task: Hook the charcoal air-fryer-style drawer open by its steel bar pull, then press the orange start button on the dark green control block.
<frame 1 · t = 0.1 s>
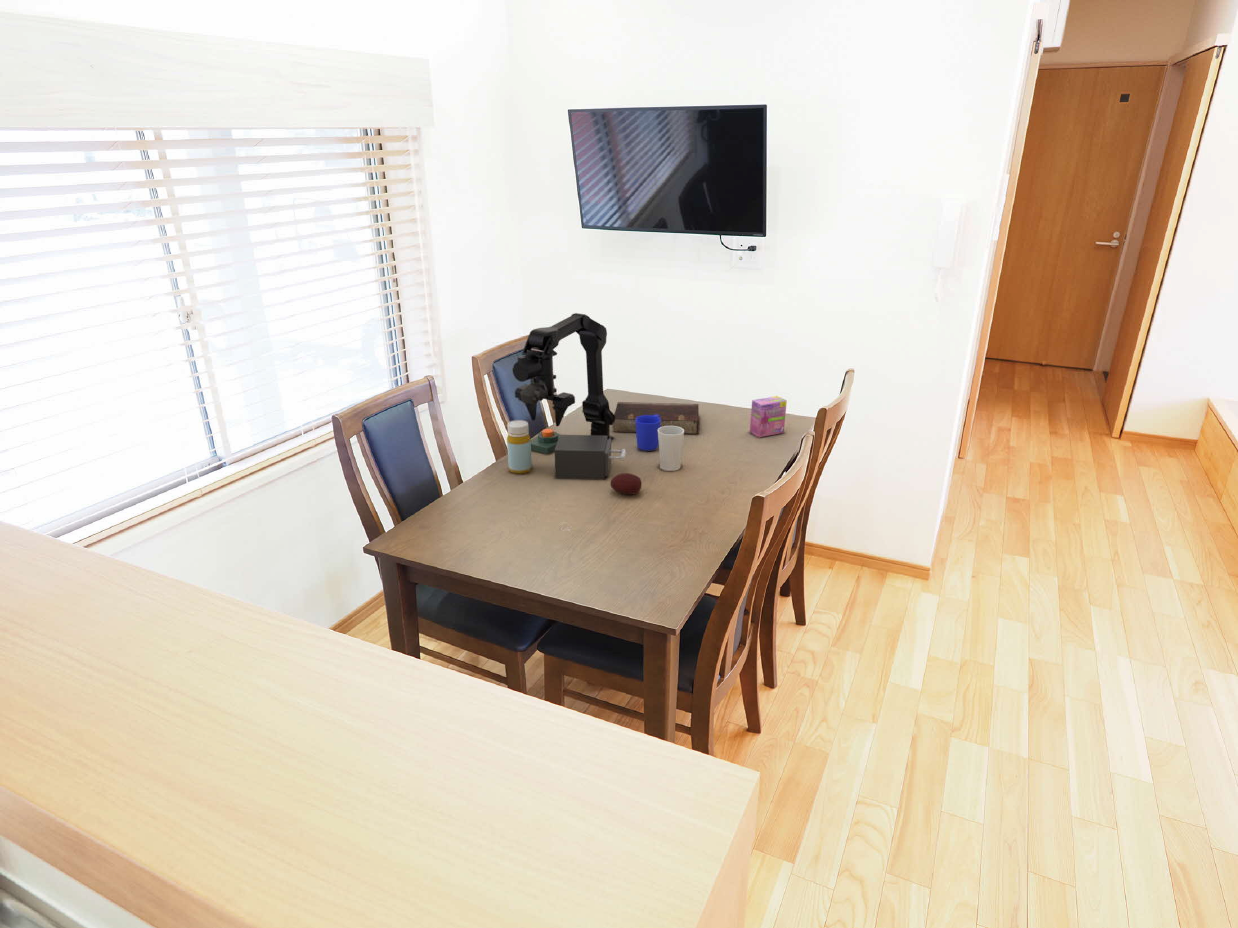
hand: (545, 423, 235), 15 cm above the table, tool pointing down, fingers open, 9 cm apart
control block: (548, 445, 257), on the table
fryer: (582, 470, 239), on the table
book: (656, 424, 276), on the table
start button: (548, 433, 256), point 4 cm above the table, slide at 0.1 cm
box: (766, 433, 267), on the table
cup: (670, 467, 241), on the table
bottle: (520, 470, 240), on the table
potato: (626, 493, 224), on the table
mug: (650, 446, 257), on the table
basket: (595, 456, 237), point 5 cm above the table, slide at 0.0 cm, touching fryer
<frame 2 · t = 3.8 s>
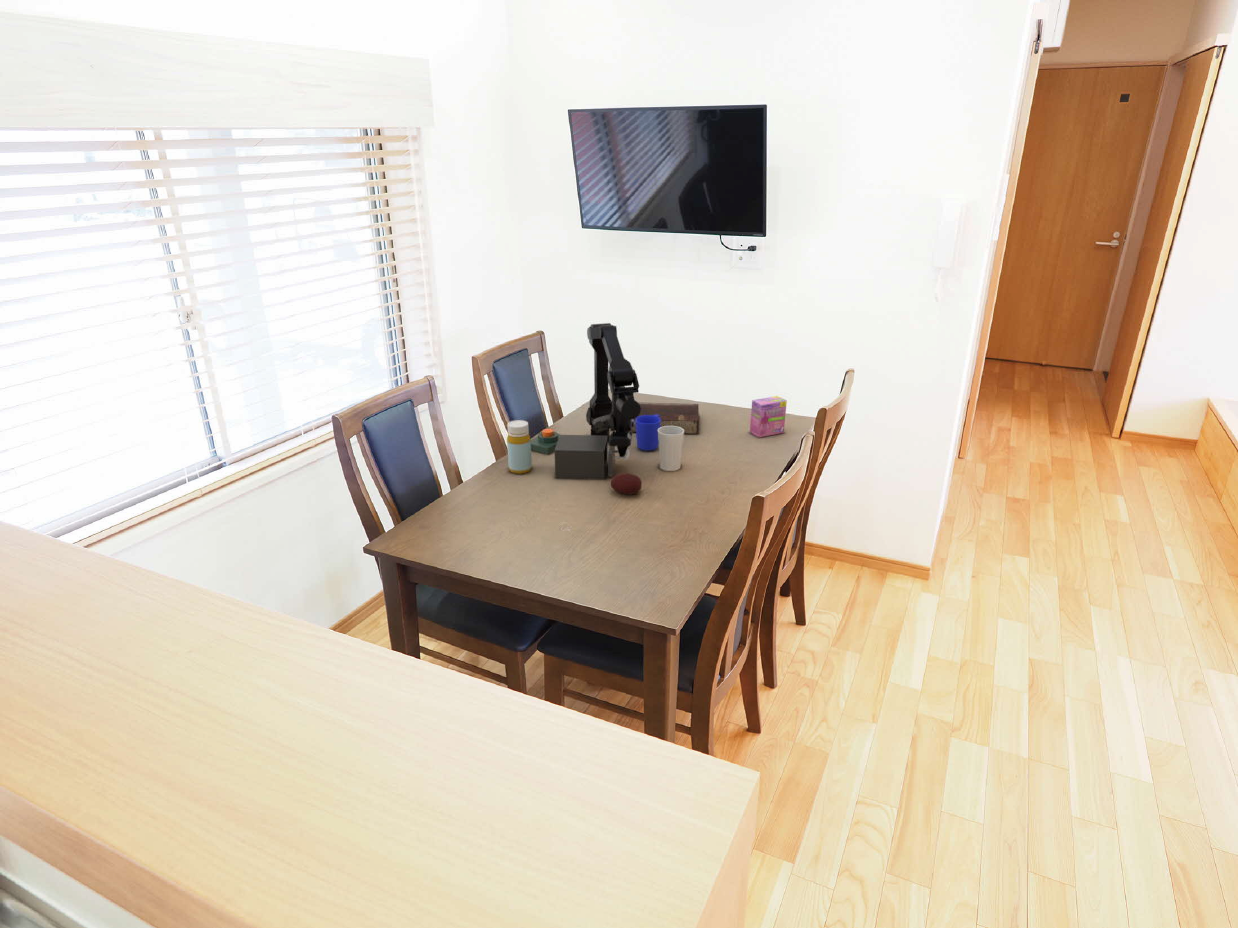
hand: (621, 457, 236), 5 cm above the table, tool pointing down, fingers closed, pressing on basket
basket: (599, 457, 237), point 5 cm above the table, slide at 1.2 cm, touching gripper
everything else where it was.
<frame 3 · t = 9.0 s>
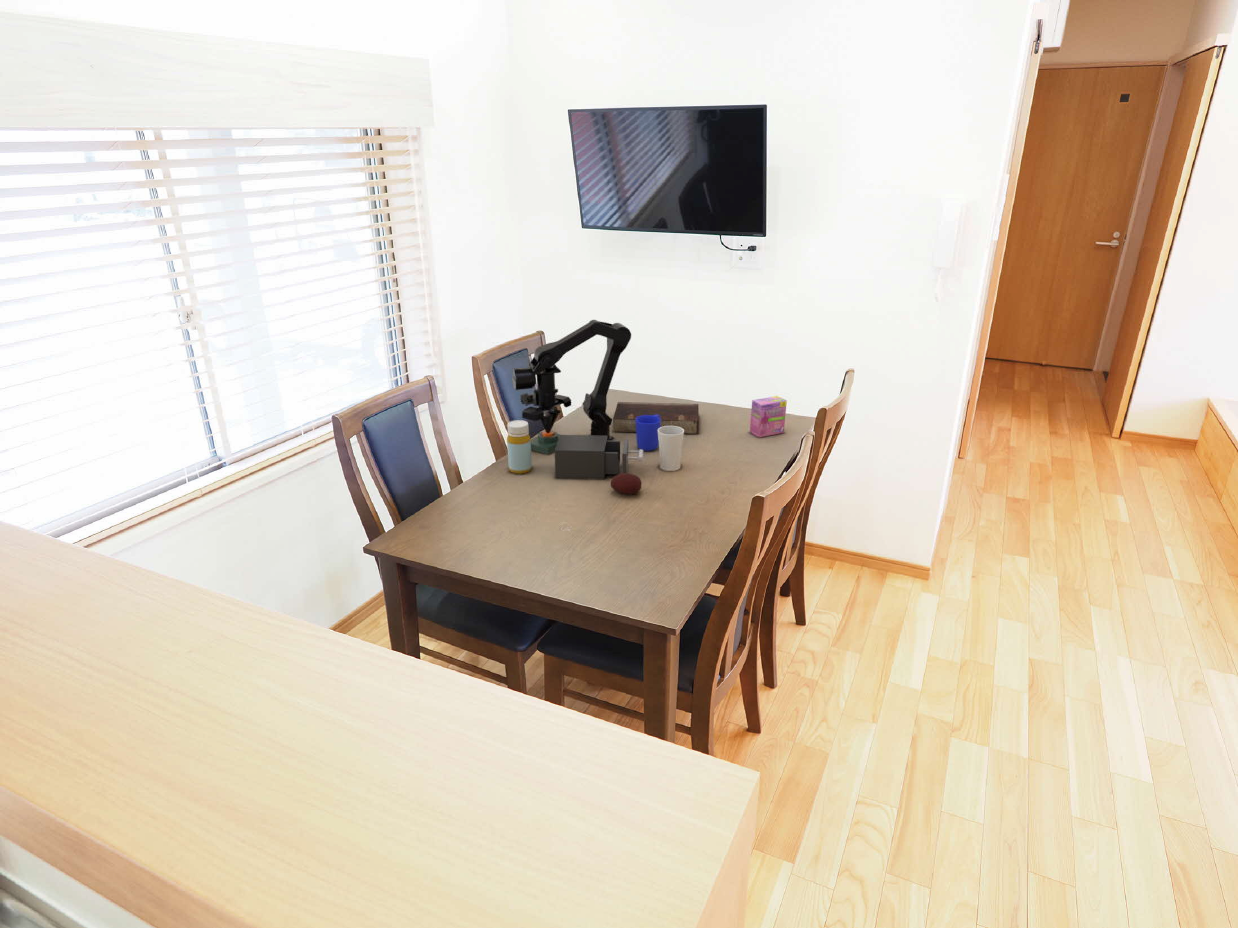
hand: (548, 432, 256), 5 cm above the table, tool pointing down, fingers closed, pressing on start button
start button: (548, 434, 256), point 4 cm above the table, slide at -0.5 cm, touching gripper
basket: (612, 457, 237), point 5 cm above the table, slide at 5.3 cm
everything else where it was.
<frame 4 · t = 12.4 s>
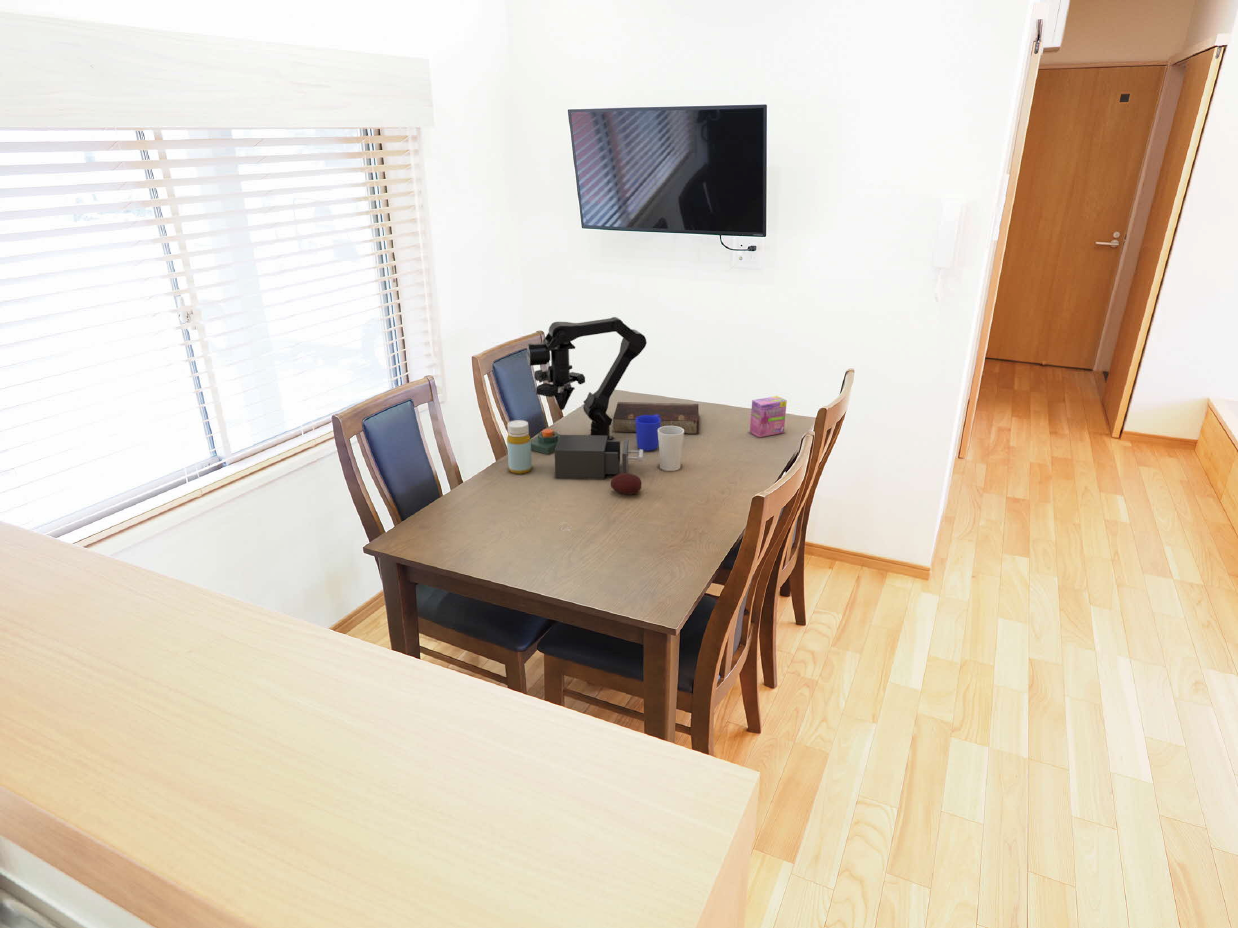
hand: (561, 409, 254), 12 cm above the table, tool pointing down, fingers closed
start button: (548, 433, 256), point 4 cm above the table, slide at 0.1 cm
everything else where it was.
at the end: basket slide at 5.3 cm; start button pushed in 1.1 cm at the most during the clip, back to where it started at the end; start button slide at 0.1 cm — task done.
